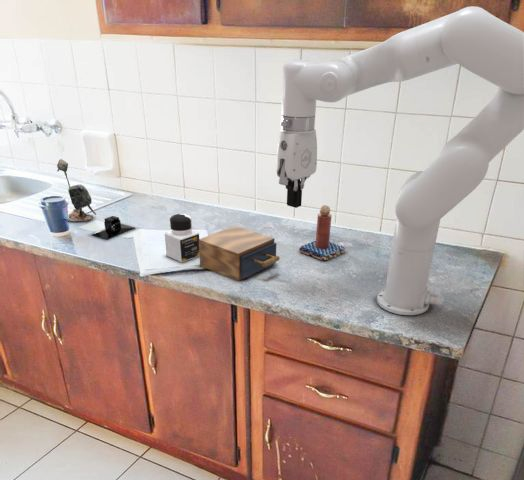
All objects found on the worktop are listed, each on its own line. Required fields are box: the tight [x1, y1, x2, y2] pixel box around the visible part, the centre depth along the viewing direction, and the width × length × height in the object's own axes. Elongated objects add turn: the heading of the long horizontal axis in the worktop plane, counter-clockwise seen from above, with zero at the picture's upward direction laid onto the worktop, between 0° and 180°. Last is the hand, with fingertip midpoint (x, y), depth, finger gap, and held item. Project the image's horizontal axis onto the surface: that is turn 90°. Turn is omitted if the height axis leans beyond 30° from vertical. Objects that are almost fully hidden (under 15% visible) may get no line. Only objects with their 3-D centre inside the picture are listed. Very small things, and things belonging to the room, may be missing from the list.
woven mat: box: [298, 240, 346, 261], centre depth 154 cm, size 10×11×2 cm
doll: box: [315, 204, 332, 248], centre depth 150 cm, size 4×4×12 cm
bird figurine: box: [56, 158, 97, 222], centre depth 170 cm, size 8×11×20 cm
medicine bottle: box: [164, 213, 200, 263], centre depth 147 cm, size 7×7×12 cm
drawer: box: [240, 241, 280, 279], centre depth 142 cm, size 18×14×6 cm
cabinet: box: [198, 225, 275, 282], centre depth 144 cm, size 15×15×8 cm
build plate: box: [91, 215, 136, 241], centre depth 165 cm, size 12×7×5 cm, turn 147°
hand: (293, 205), depth 124 cm, fingers closed
